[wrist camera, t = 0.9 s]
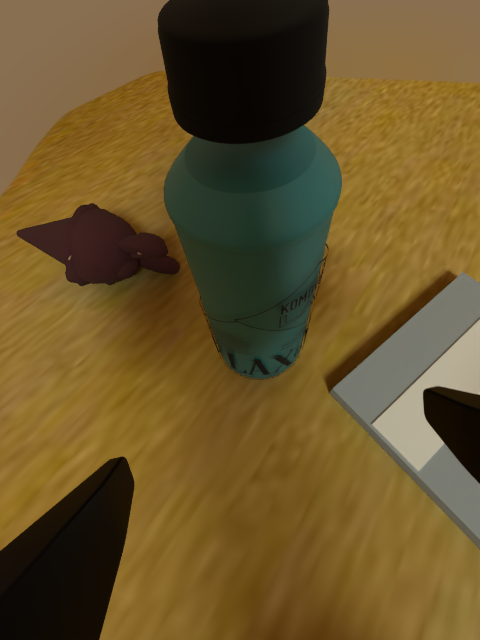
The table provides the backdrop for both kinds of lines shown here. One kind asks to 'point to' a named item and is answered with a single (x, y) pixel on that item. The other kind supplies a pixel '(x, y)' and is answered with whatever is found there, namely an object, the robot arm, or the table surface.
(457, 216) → the table surface
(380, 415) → the grey flat rectangular block
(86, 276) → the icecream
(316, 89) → the beverage bottle
